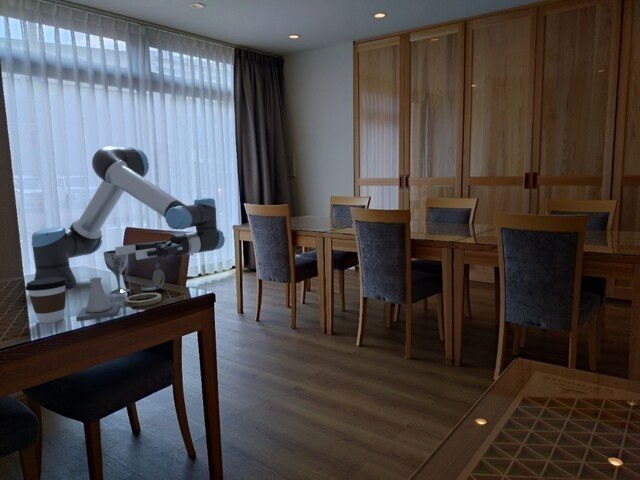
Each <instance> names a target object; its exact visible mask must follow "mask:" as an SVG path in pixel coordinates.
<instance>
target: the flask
mask: <svg viewBox="0 0 640 480" xmlns="http://www.w3.org/2000/svg"><path fill="white" fill-rule="evenodd" d="M102 279H103V278H102V277H100V276H99V277H98V276H97V277H91V278H89V281H90V294H89V298H88V301H87V304H86V307H85V308H86V311H85V312H91V313H92V312H102V311H105V310H109V309H110V308H112V305H111V301H110V300H109V298H108V296H107V294H106V292H105V290H104V288H103V286H102Z"/></svg>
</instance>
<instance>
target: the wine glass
mask: <svg viewBox="0 0 640 480" xmlns="http://www.w3.org/2000/svg"><path fill="white" fill-rule="evenodd" d="M128 257H129V254H124V255H116V251H115V249H114V250H108V251H104V252H103V259H104V263H105V266H106V267H107V270H109V271H110V272H111V273H112V274H113V275H114V276H115V277H116V283H117V288H116V289H114V290H111V291H109V294H111V295H118V294H125V293H128V292H130V291H131V290H130V289H128V288H122V287H121V275H122V273H123V272H124V270H125V269H126V267H127V265H128V260H129V259H128Z"/></svg>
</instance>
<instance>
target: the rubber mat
mask: <svg viewBox="0 0 640 480" xmlns="http://www.w3.org/2000/svg"><path fill="white" fill-rule="evenodd" d="M111 305H112V308H110V309H109V310H105V311H102V312H92V313H91V312H85V311H86V307H82V308H81V309H80V311H79V312H78V315H76V321H83V320H84V321H85V320H91V319H92V320H93V319H99V318H107V317H108V318H109V317H114V316H118V314H119V311H120V308H121V303H119V302H118V303H114V304H113V303H112V304H111Z"/></svg>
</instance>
